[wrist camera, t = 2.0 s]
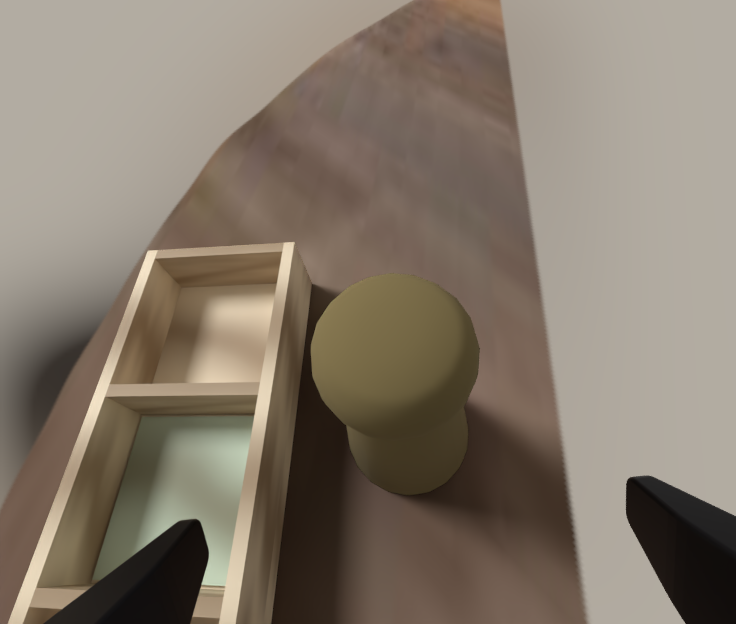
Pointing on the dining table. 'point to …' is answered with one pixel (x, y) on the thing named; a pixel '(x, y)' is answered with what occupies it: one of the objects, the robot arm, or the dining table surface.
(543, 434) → the dining table surface
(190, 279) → the wooden compartment tray
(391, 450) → the cork
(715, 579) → the robot arm
